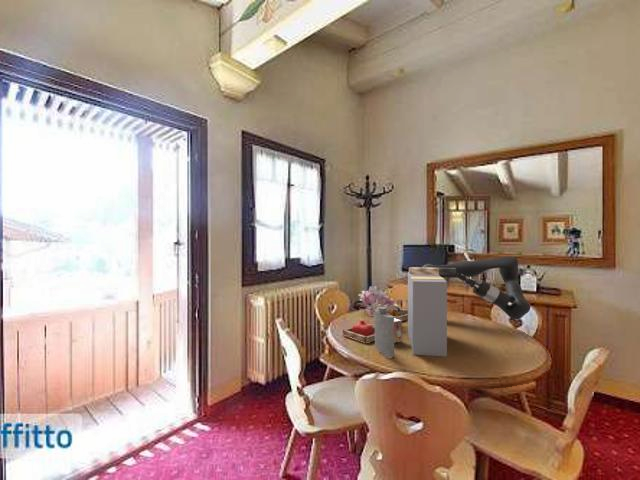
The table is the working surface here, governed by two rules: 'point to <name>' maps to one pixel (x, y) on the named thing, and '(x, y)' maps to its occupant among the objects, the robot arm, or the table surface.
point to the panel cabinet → (427, 314)
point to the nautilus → (393, 312)
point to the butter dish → (363, 329)
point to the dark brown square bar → (433, 271)
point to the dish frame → (359, 337)
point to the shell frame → (402, 317)
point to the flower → (380, 298)
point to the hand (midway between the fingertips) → (455, 273)
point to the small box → (397, 330)
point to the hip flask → (384, 332)
